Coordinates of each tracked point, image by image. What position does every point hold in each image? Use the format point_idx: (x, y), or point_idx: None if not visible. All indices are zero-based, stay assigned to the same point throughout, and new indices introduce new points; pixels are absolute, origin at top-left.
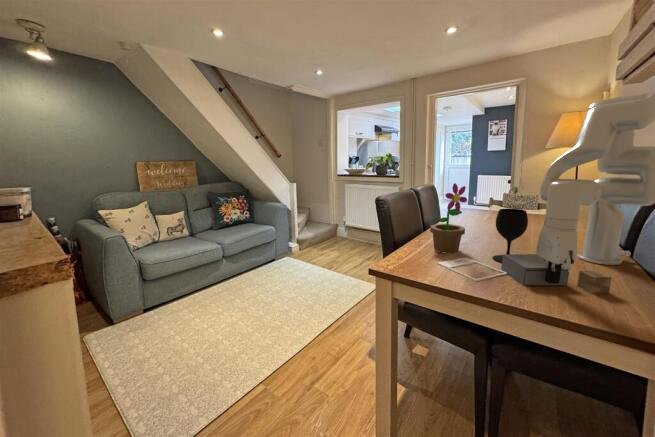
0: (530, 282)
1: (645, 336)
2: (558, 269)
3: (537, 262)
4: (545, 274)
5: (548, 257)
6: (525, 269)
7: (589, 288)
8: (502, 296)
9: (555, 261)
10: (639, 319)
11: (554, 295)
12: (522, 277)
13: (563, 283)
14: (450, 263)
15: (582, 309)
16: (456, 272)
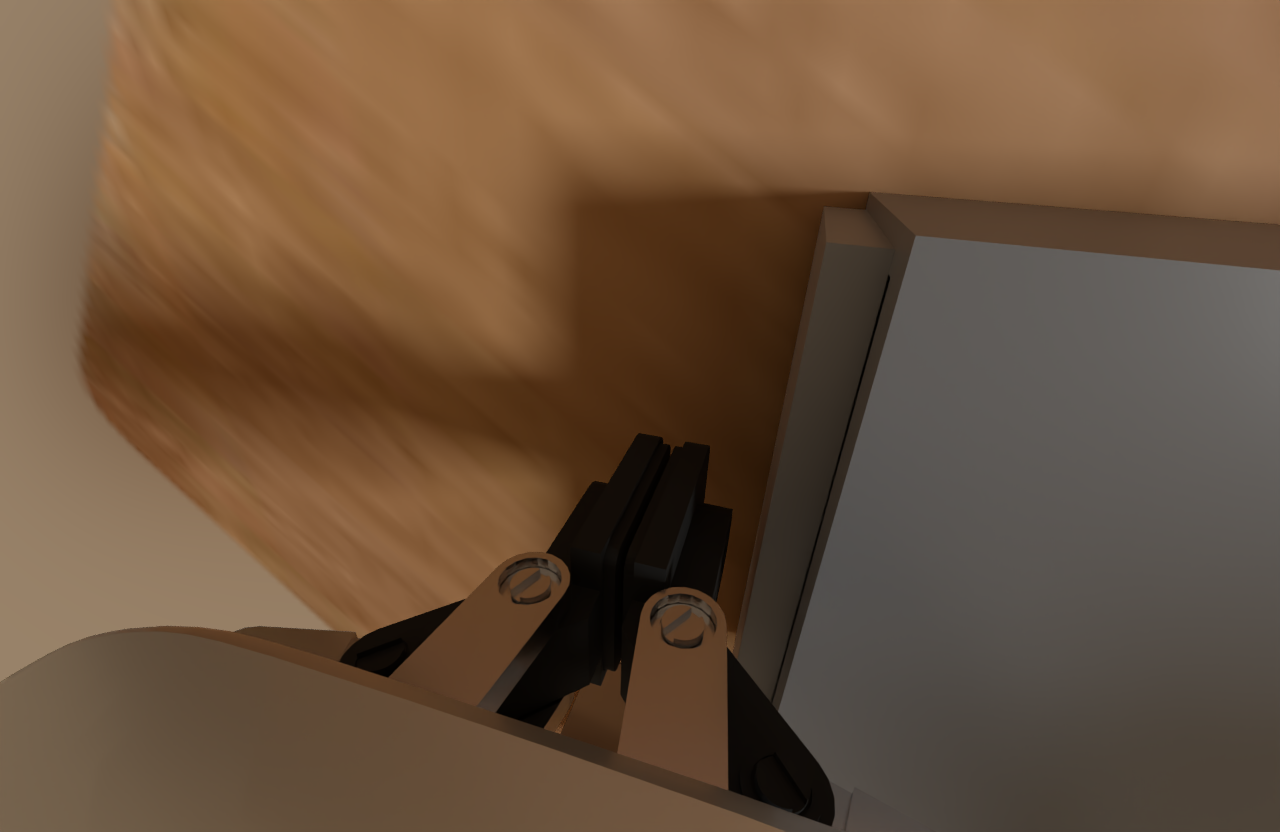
0: (809, 283)
1: (110, 416)
2: (429, 618)
3: (1130, 762)
4: (761, 538)
5: (299, 793)
6: (905, 244)
7: (603, 689)
8: None
9: (93, 671)
10: (283, 558)
11: (546, 357)
12: (930, 206)
13: (738, 624)
14: None
15: (319, 365)
16: None
